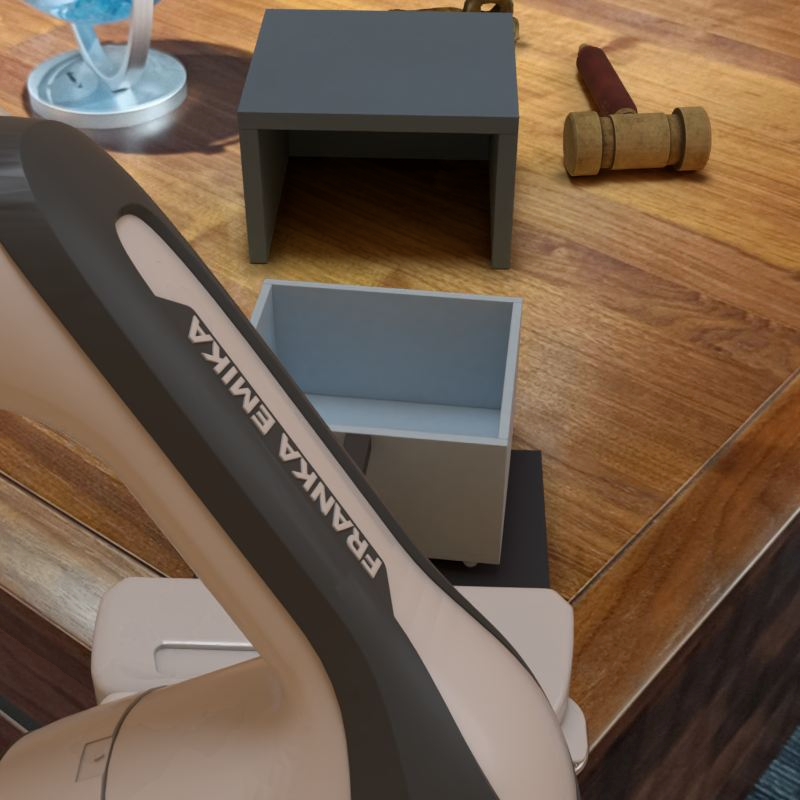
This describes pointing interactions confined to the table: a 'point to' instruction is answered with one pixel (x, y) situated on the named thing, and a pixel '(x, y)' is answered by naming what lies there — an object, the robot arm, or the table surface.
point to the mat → (512, 534)
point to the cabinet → (379, 101)
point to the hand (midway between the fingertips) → (346, 531)
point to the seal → (479, 9)
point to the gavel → (629, 127)
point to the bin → (410, 398)
